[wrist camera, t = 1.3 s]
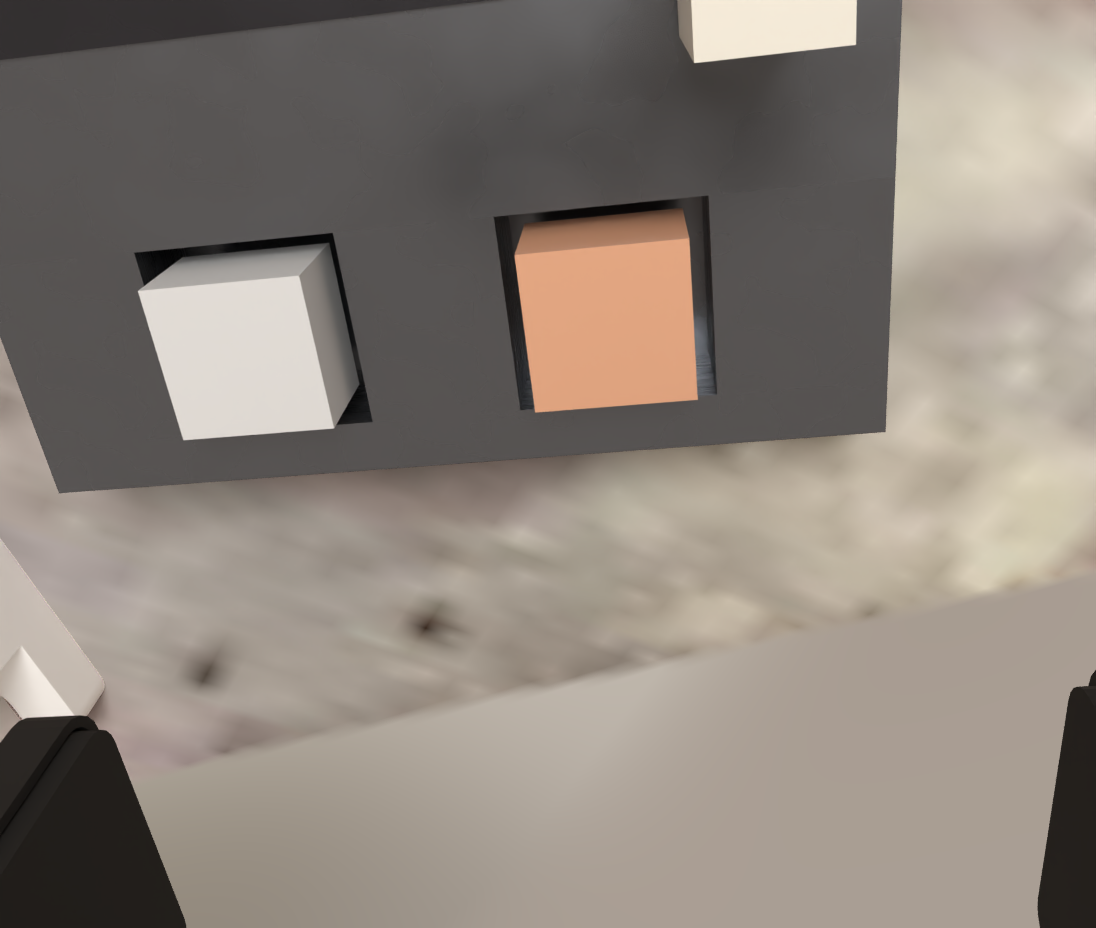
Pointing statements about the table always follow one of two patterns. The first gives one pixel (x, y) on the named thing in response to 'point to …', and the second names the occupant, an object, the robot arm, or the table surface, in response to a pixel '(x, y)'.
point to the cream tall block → (763, 27)
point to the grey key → (252, 341)
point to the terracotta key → (608, 310)
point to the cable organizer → (38, 655)
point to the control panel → (434, 216)
